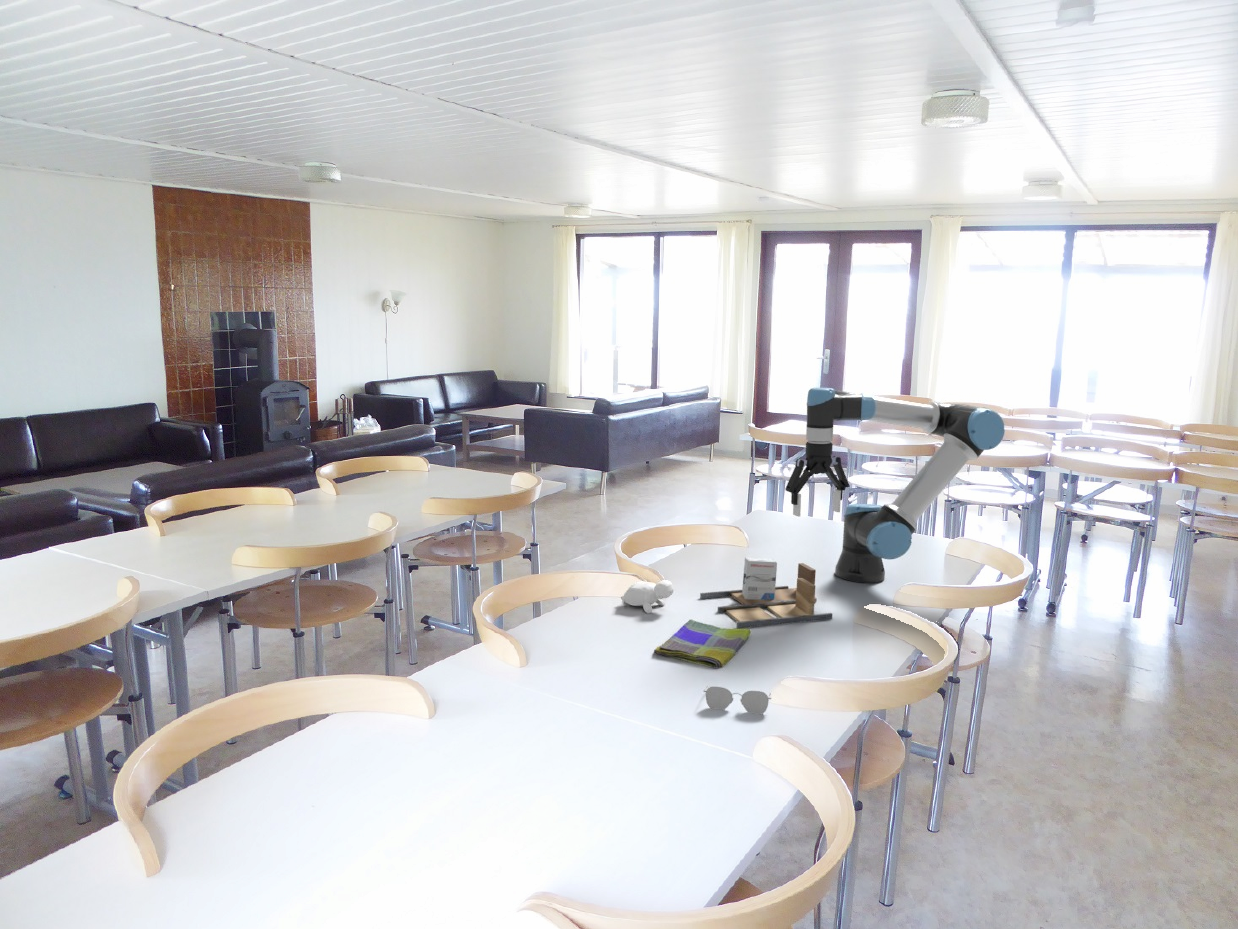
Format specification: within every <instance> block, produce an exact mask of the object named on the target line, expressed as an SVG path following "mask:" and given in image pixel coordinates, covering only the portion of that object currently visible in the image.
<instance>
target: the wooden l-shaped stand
mask: <svg viewBox="0 0 1238 929" xmlns="http://www.w3.org/2000/svg"><path fill="white" fill-rule="evenodd" d="M796 588H797V590H796V604H790V605H779V606H768V607H767V610H768V611H769V612H770V613H772V614H773V615H775V616H776V617H777V618H782V617H793V616H803V615H813V614H815V602H816V601H815V598H816V584H815V585H814V584H812V583H810V582H808V581H807V580H805V579H803V578H798V577H797V579H796ZM770 613H768V612H767V611H765V609H761V608H760V607H757V608H746V609H736V610H726V612H725V614H726V615H728V616H729V617H730V618H732V619H734V620H735V622H736V623H737V622H741V621H752V620H762V619H772V618H775V617H774V616H773V615H771V614H770Z"/></svg>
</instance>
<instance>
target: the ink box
mask: <svg viewBox="0 0 1238 929" xmlns="http://www.w3.org/2000/svg"><path fill="white" fill-rule="evenodd" d="M743 566H744V567H743V576H742V588H741V590H742V595H743V597H744V599H774V596H775V587H776V582H777V581H776V580H777V570H778V569H777V568H778V567H777V566H778V562H777V561H776V560H775V559H773V558H758V557H744V564H743Z"/></svg>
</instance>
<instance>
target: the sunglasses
mask: <svg viewBox="0 0 1238 929" xmlns="http://www.w3.org/2000/svg"><path fill="white" fill-rule="evenodd" d="M703 693H705V700H706V704H707V705H708V708H710V709H716V710H723V711H724V710H725V709H727V708H729V706H730V704H732V703H733V701H734V697H733V695H738V696H741V698H740V699H739V700H740V704H741V705H742V706H743V708H744V710H745V711H747V713H748V714H749V713H752V714H758V713H762V714H761V715H764V713H765V712H766V710H767V709H768V707H769V700H772V693H771V692H769V695H768V694H767V693H765V692H764V691H760V690H747V691H745V692H744V693H742V694H741V693H739V692H735V693H734V692H733V693H732V692H731V691H730V690H729V689H728V688H726V687H722V686H717V685H716V686H714V685H713V686H708V685H706V687H705V688H704V689H703Z"/></svg>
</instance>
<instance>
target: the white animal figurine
mask: <svg viewBox="0 0 1238 929" xmlns="http://www.w3.org/2000/svg"><path fill="white" fill-rule="evenodd" d="M674 590H675V588H674V585H673V583H672V582H671V581H670V580H667V579H663V580H660V581H658V582H657V583H655V582H648V581H643V580H642V581H641V580H640V581H636V582H634V583H632V584H631V585H630V586H629V587H628V588H627V590H626V592H624V594H623V595H622V596H620V599H621V601H622V602H621V603H622V605H623V607H625V606H626V605H627V604H628V605H629V606H634V607H635V606H636V607H643V610H644V612H645V613H646V614H648V615H649V614H652V613H653V607H652V605H653V604H655V603H656V604H657V605H659V607H664V606H665V604H666V603H665V601H664V600H663V599H668V598H670V597H671V595H673V594H674Z"/></svg>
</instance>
